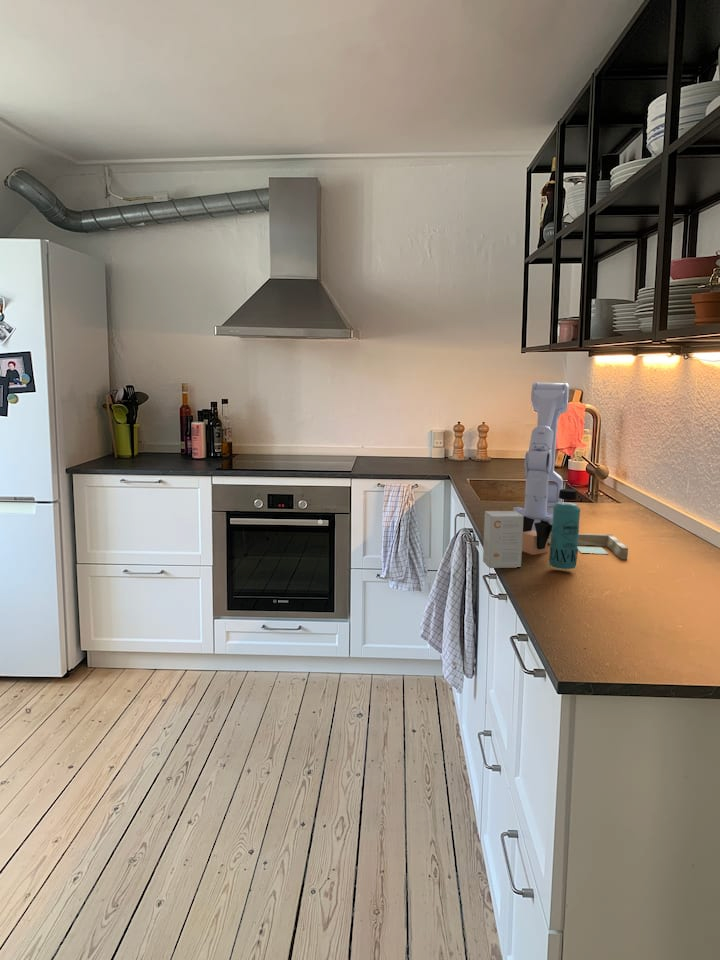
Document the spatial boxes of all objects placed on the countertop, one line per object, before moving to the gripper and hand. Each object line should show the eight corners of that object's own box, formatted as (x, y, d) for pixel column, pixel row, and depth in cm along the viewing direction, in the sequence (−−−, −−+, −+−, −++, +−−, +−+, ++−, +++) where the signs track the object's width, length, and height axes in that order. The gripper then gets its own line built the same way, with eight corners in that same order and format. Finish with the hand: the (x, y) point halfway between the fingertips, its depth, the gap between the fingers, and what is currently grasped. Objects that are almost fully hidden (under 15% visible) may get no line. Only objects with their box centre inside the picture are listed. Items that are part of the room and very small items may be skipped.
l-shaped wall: (548, 542, 200) (549, 532, 200) (611, 545, 199) (611, 534, 198) (559, 557, 185) (560, 545, 185) (627, 559, 184) (628, 548, 184)
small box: (513, 561, 181) (516, 510, 179) (521, 568, 175) (524, 515, 173) (481, 561, 180) (484, 510, 178) (488, 568, 174) (491, 515, 172)
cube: (519, 550, 191) (520, 532, 191) (533, 548, 194) (534, 530, 193) (532, 554, 187) (533, 536, 186) (546, 552, 190) (547, 534, 189)
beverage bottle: (542, 569, 174) (547, 487, 171) (564, 566, 177) (570, 486, 174) (560, 576, 168) (565, 492, 165) (582, 573, 171) (588, 491, 168)
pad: (575, 546, 196) (575, 546, 196) (601, 547, 196) (601, 547, 196) (581, 553, 189) (581, 552, 189) (608, 554, 189) (608, 553, 189)
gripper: (505, 492, 192) (503, 541, 194) (545, 501, 180) (542, 554, 182) (525, 490, 196) (522, 539, 198) (565, 499, 184) (562, 551, 186)
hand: (533, 546), depth 190 cm, fingers closed on cube, 5 cm apart
